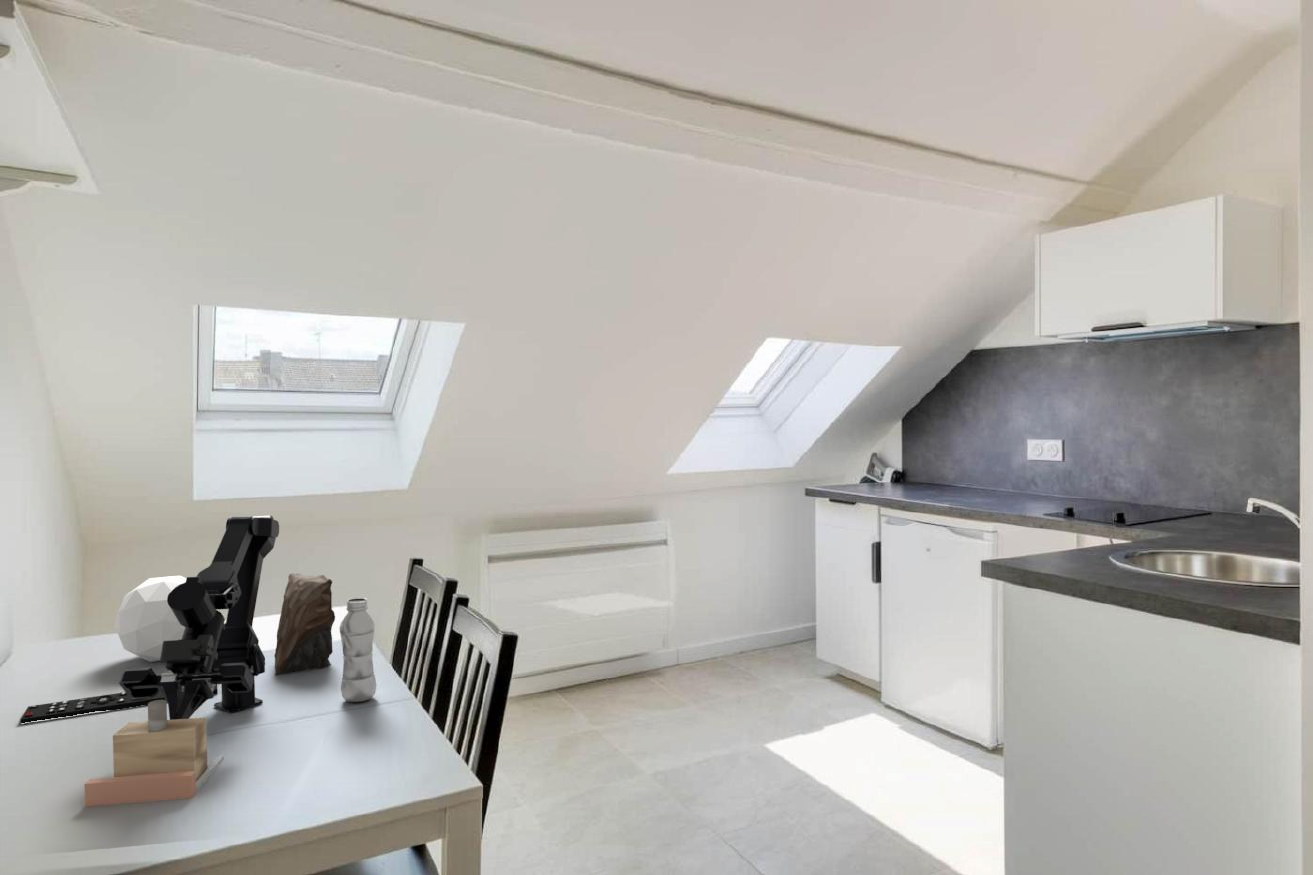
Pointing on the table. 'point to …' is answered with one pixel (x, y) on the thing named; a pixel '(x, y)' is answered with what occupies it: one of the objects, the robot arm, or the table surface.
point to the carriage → (160, 745)
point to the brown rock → (305, 625)
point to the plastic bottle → (357, 652)
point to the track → (145, 787)
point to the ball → (149, 618)
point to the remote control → (87, 706)
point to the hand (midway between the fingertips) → (174, 730)
